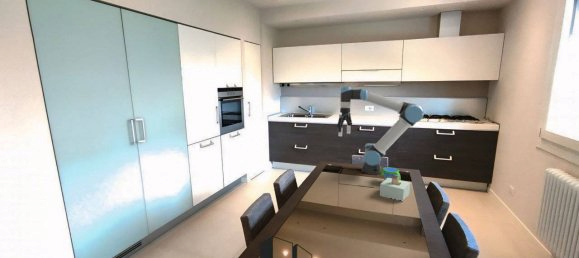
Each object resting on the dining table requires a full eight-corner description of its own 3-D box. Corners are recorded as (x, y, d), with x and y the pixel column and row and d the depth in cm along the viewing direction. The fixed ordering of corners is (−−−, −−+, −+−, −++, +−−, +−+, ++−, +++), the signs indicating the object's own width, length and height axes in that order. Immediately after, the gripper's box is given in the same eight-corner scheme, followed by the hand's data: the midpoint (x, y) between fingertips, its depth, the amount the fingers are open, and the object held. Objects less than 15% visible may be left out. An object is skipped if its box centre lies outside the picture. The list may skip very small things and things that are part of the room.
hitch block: (387, 188, 175) (387, 177, 173) (409, 194, 166) (410, 182, 165) (379, 195, 164) (380, 183, 163) (402, 201, 155) (403, 189, 154)
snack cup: (404, 185, 180) (405, 171, 178) (392, 188, 176) (393, 173, 174) (387, 178, 194) (388, 165, 193) (376, 180, 190) (377, 167, 189)
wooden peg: (392, 191, 168) (393, 174, 166) (398, 193, 165) (399, 175, 163) (390, 193, 165) (391, 175, 163) (396, 195, 162) (397, 177, 160)
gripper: (348, 106, 207) (347, 132, 210) (332, 108, 188) (332, 136, 191) (357, 106, 202) (356, 133, 206) (342, 108, 183) (341, 138, 187)
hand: (344, 134), depth 198 cm, fingers open, 13 cm apart
